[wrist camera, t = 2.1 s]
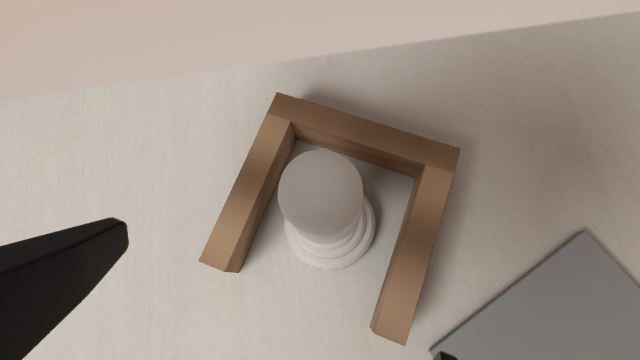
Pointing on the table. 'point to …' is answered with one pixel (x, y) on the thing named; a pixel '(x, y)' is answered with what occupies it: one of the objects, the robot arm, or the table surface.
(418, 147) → the wooden u-shaped pawn holder
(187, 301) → the table surface
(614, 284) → the slate pad
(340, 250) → the chess piece
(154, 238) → the table surface
